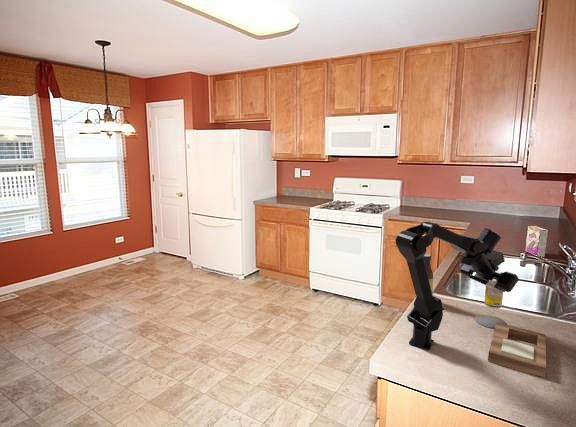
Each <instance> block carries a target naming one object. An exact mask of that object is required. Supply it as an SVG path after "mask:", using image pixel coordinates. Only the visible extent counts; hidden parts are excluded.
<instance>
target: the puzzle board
mask: <svg viewBox="0 0 576 427" xmlns="http://www.w3.org/2000/svg"><path fill="white" fill-rule="evenodd" d="M510 338H514V339H516V340H514V339H510ZM518 340H520V341H518ZM522 341H523V342H522ZM524 341H525V342H529V343H532V344H529V343H525V342H524ZM533 344H536V345H533ZM546 346H547V345H546V334H544V333H540V332H536V331H532V330H529V329H524V328H520V327H515V326H511V325H508V324H507V325H504V324H499V323H496V325H495V329H493V333H492V338H491V341H490V345H489V350H488V355H487V362H489V363H492V364H497V365H499V366H503V367H506V368H509V369H513V370H517V371H519V372H522V371H523V373H527V374H529V373H530V374H529V375H532V374H533V376H536V375H537V377H539V376H541V377H540V378H543V377H544V378H543V379H545V378H546V374H547V373H546V372H547V353H546V351H547V349H546Z"/></svg>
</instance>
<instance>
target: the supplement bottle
mask: <svg viewBox="0 0 576 427" xmlns="http://www.w3.org/2000/svg"><path fill="white" fill-rule="evenodd" d="M496 283H497V281H496V279H493V280H492V281H491V280H489V282H488V283H486V285H485V290H484V301H483V302H484V306H486V308H490V309H493V310H499V309H501V308H502V307H503V296H504V292H502V291H500V290H498V289H496V288H494V286H495V285H496Z"/></svg>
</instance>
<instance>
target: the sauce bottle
mask: <svg viewBox="0 0 576 427" xmlns="http://www.w3.org/2000/svg"><path fill="white" fill-rule="evenodd" d="M423 259H424V263H425V267H426V271H427V275H428V279H429V283H430V287H431V291H432V295H433V296H434V294H433V292H434V290H433V289H434V288H433V287H434V273H433V270H432V268H431V260H432V255H431V254H430V253H425V255H424V257H423Z"/></svg>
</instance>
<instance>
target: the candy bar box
mask: <svg viewBox="0 0 576 427" xmlns="http://www.w3.org/2000/svg"><path fill="white" fill-rule="evenodd" d="M526 233H527V234H526V241H525V249H524V252H525V251H526V252H529V253H531V254H533V255H537V256H542V258H545V257H546V251H547V244H548V241H547V240H548V235H549V230H548V229H545V228H542V227H539V226H537V225H528V226H527V232H526ZM526 252H525V253H526ZM531 254H530V255H531ZM533 255H532V256H533Z"/></svg>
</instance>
